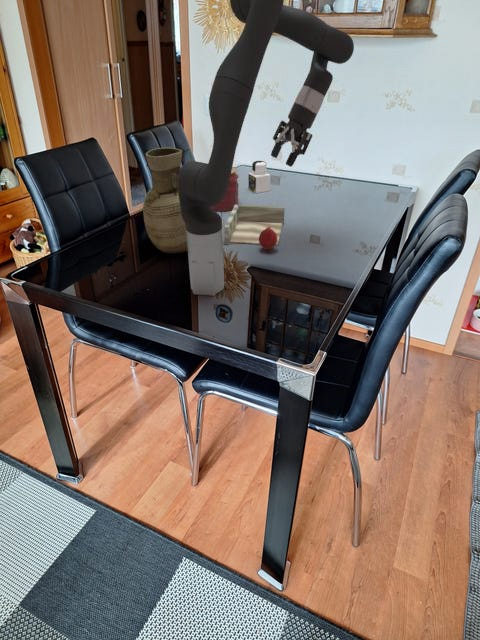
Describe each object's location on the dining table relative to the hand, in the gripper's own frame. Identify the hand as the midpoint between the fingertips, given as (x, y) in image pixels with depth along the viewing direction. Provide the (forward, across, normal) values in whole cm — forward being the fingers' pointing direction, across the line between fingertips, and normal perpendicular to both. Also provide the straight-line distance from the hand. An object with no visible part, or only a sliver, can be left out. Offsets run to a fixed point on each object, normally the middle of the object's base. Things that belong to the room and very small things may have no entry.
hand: (280, 161), depth 131 cm
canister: (+26, -36, +11) cm, 46 cm away
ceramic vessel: (+38, -10, -17) cm, 43 cm away
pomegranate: (+26, +8, +5) cm, 27 cm away
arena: (+25, -6, +8) cm, 27 cm away
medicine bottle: (+17, -46, +32) cm, 58 cm away
